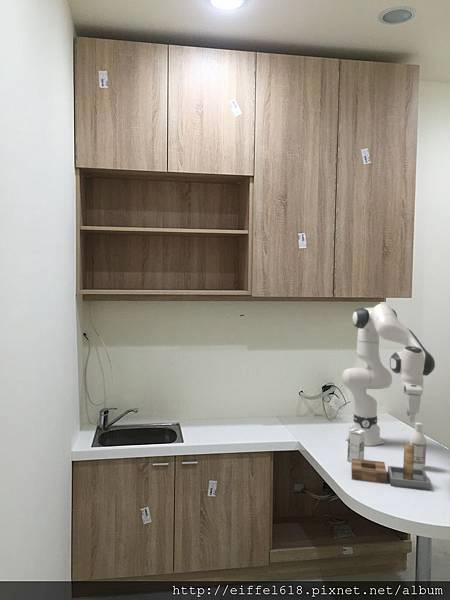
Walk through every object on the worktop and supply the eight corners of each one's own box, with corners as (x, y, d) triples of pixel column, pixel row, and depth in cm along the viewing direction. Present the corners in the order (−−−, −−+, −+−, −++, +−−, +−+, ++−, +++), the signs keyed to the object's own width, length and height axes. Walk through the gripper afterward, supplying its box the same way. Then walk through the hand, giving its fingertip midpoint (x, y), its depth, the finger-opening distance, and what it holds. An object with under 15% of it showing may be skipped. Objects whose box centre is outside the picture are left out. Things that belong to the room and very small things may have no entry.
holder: (351, 467, 224) (351, 458, 224) (383, 470, 221) (384, 462, 221) (351, 479, 211) (352, 469, 211) (386, 483, 208) (386, 473, 207)
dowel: (402, 476, 213) (403, 443, 212) (412, 477, 212) (413, 444, 211) (403, 479, 209) (404, 446, 208) (413, 481, 208) (415, 447, 207)
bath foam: (427, 469, 224) (429, 425, 223) (412, 469, 224) (414, 425, 223) (420, 464, 231) (422, 421, 230) (406, 464, 231) (408, 421, 230)
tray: (387, 472, 219) (388, 465, 219) (424, 476, 216) (424, 469, 216) (390, 485, 205) (390, 478, 205) (429, 490, 201) (430, 483, 201)
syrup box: (352, 457, 237) (353, 427, 236) (364, 461, 233) (365, 430, 233) (347, 461, 232) (348, 430, 232) (359, 464, 229) (360, 432, 228)
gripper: (401, 380, 220) (399, 411, 220) (406, 390, 200) (405, 424, 200) (416, 381, 218) (415, 413, 219) (423, 391, 198) (421, 425, 199)
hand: (410, 418), depth 209 cm, fingers open, 8 cm apart
